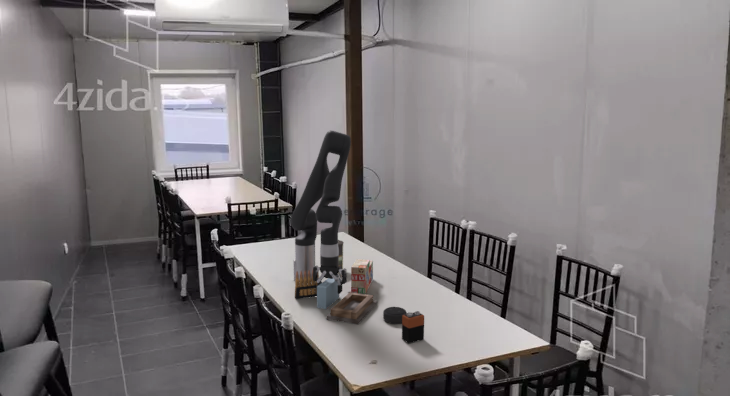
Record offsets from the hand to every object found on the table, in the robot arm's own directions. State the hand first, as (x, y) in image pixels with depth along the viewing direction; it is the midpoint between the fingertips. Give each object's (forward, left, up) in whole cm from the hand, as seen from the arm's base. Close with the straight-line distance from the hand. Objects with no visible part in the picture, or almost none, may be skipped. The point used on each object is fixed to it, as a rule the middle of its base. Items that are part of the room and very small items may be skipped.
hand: (329, 292), depth 227 cm
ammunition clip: (-12, +3, -5) cm, 13 cm away
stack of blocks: (+6, +24, -5) cm, 25 cm away
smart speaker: (+30, -8, -5) cm, 32 cm away
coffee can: (-17, +43, -5) cm, 46 cm away
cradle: (+12, -6, -5) cm, 15 cm away
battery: (+41, -23, -5) cm, 48 cm away
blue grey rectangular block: (-1, 0, -5) cm, 5 cm away
